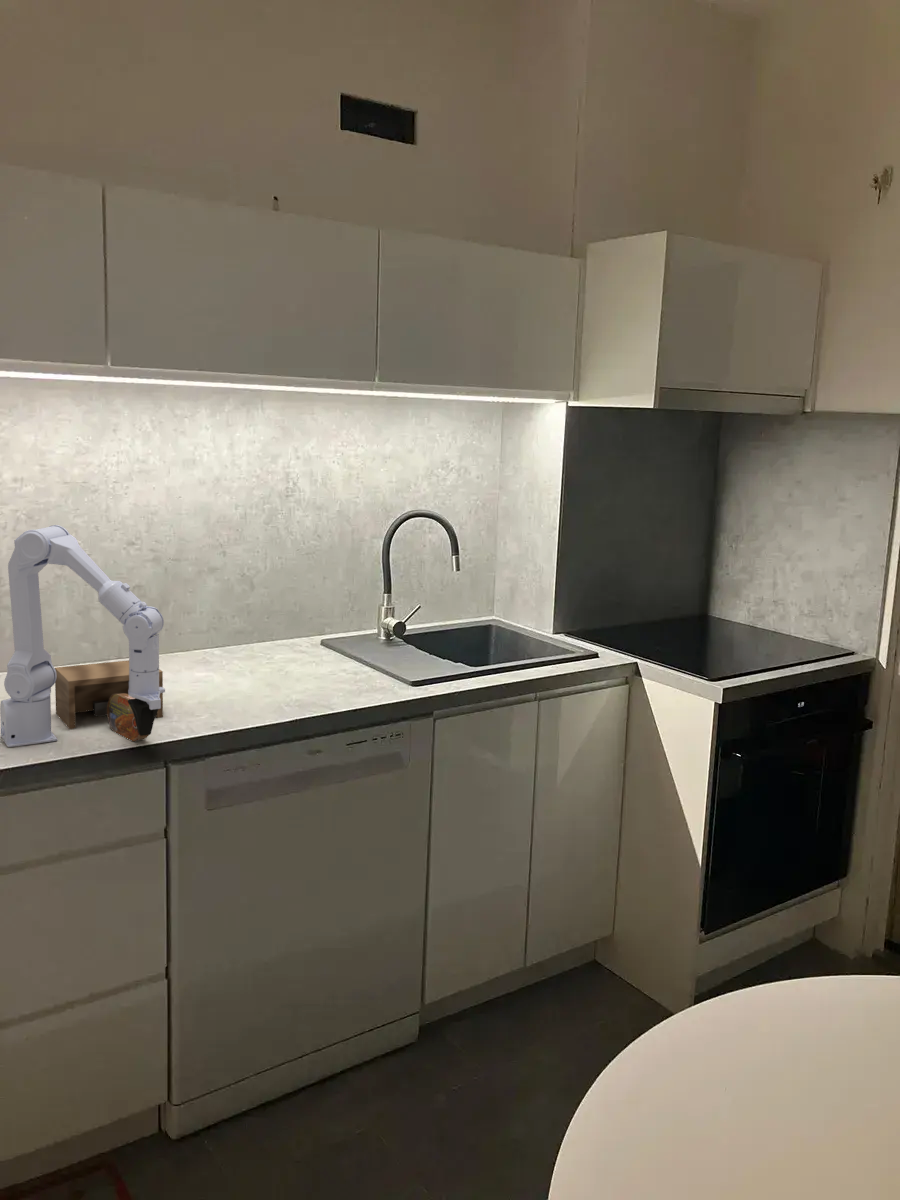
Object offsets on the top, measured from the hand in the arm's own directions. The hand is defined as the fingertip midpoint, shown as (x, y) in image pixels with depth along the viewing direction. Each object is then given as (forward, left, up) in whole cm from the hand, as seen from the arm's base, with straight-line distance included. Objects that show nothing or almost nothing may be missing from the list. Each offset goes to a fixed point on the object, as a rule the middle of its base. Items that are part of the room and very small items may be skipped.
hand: (144, 734), depth 203 cm
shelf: (0, +25, -3) cm, 26 cm away
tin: (0, +10, -4) cm, 11 cm away
